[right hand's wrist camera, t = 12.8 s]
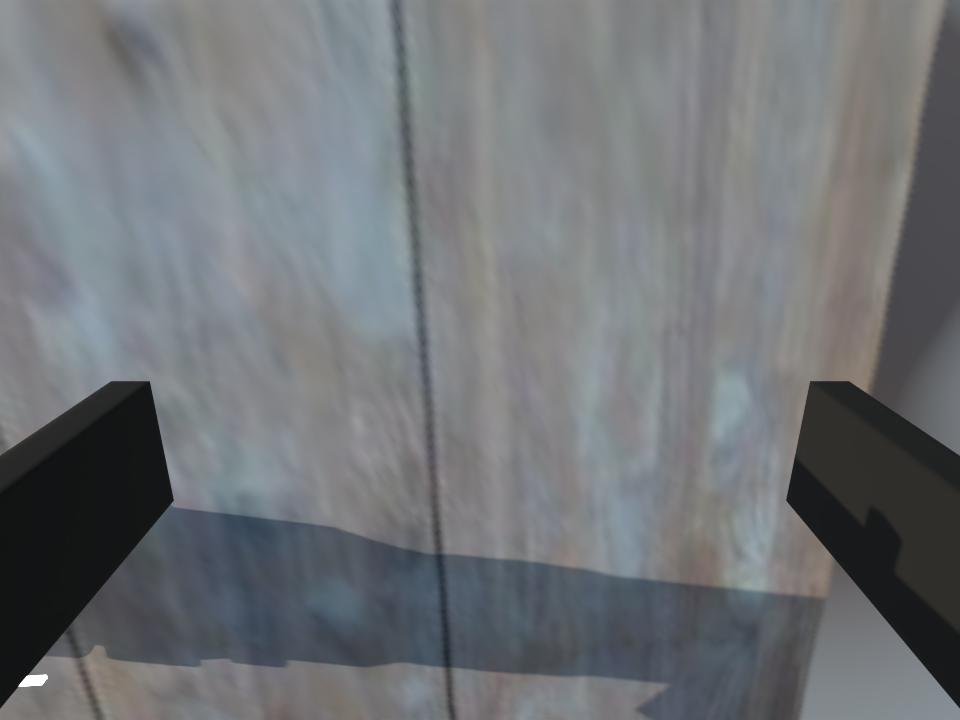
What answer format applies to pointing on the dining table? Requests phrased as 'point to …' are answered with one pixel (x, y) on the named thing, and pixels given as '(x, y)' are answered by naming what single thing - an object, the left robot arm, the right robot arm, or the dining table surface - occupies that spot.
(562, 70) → the dining table surface
